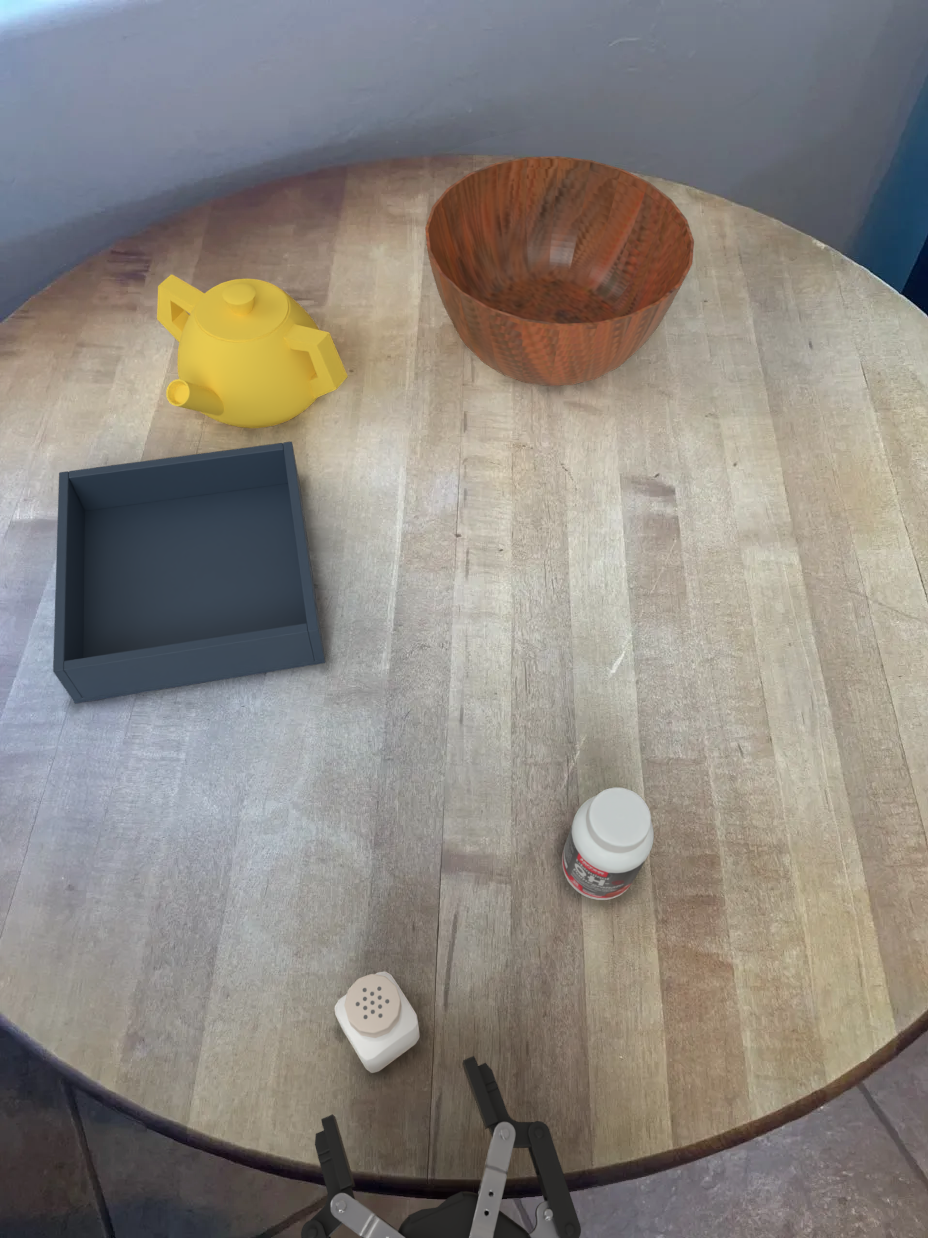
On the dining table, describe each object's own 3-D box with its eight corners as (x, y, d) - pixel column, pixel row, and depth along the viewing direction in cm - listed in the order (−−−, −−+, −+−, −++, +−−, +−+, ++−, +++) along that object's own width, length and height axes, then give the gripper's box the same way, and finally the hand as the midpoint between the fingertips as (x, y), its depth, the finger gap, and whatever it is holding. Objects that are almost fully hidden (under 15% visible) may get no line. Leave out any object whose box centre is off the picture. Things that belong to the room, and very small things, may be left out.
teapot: (104, 426, 91) (65, 334, 81) (212, 309, 100) (189, 214, 90) (287, 499, 86) (269, 411, 77) (383, 370, 95) (377, 278, 86)
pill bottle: (561, 900, 68) (578, 854, 59) (560, 827, 70) (576, 773, 62) (638, 904, 68) (665, 858, 59) (634, 830, 70) (659, 777, 62)
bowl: (376, 323, 99) (369, 225, 89) (547, 224, 108) (558, 126, 99) (547, 461, 89) (560, 368, 80) (719, 340, 99) (750, 243, 89)
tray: (74, 703, 75) (52, 671, 71) (77, 510, 85) (58, 471, 81) (325, 663, 77) (318, 629, 73) (299, 479, 88) (291, 441, 83)
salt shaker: (338, 1023, 63) (324, 993, 55) (390, 987, 64) (383, 952, 56) (371, 1078, 61) (361, 1056, 53) (423, 1040, 62) (421, 1012, 54)
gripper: (648, 1369, 46) (516, 1029, 54) (364, 1516, 43) (269, 1132, 51) (622, 1352, 52) (508, 1050, 60) (373, 1479, 49) (287, 1143, 57)
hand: (398, 1088), depth 56 cm, fingers open, 8 cm apart
